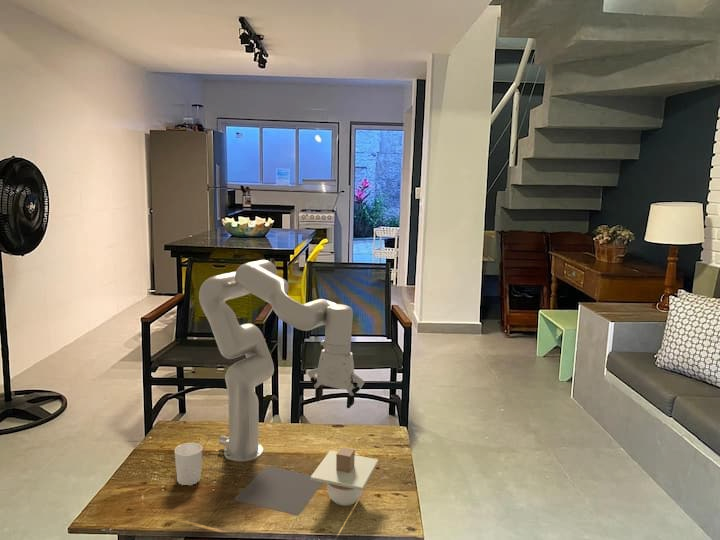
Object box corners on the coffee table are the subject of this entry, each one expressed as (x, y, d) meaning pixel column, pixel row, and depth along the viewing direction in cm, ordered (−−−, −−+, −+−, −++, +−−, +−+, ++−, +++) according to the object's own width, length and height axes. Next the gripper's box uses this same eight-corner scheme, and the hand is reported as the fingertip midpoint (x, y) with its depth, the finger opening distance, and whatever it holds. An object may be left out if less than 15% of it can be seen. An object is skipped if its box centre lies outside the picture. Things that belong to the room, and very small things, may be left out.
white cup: (208, 477, 171) (207, 446, 170) (190, 489, 164) (189, 458, 162) (188, 470, 175) (187, 440, 173) (169, 482, 167) (168, 451, 166)
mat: (233, 501, 159) (233, 499, 159) (266, 467, 178) (266, 465, 178) (298, 517, 153) (298, 515, 153) (325, 480, 172) (325, 478, 172)
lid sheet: (310, 479, 155) (310, 460, 154) (330, 452, 169) (330, 434, 168) (362, 490, 151) (362, 470, 150) (378, 461, 165) (378, 443, 164)
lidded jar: (359, 514, 155) (360, 483, 154) (321, 508, 158) (322, 477, 156) (366, 493, 166) (367, 463, 164) (331, 487, 168) (332, 458, 166)
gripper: (304, 346, 162) (302, 402, 165) (361, 356, 156) (357, 414, 160) (315, 339, 169) (312, 392, 172) (370, 348, 163) (366, 404, 167)
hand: (334, 403), depth 166 cm, fingers open, 9 cm apart
